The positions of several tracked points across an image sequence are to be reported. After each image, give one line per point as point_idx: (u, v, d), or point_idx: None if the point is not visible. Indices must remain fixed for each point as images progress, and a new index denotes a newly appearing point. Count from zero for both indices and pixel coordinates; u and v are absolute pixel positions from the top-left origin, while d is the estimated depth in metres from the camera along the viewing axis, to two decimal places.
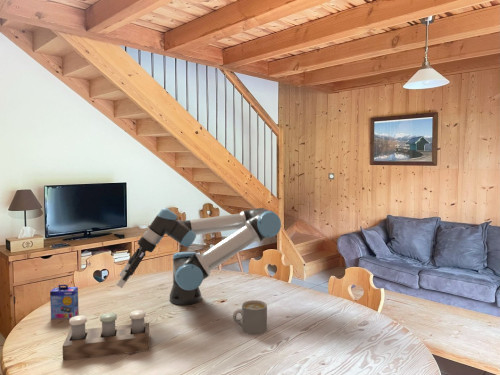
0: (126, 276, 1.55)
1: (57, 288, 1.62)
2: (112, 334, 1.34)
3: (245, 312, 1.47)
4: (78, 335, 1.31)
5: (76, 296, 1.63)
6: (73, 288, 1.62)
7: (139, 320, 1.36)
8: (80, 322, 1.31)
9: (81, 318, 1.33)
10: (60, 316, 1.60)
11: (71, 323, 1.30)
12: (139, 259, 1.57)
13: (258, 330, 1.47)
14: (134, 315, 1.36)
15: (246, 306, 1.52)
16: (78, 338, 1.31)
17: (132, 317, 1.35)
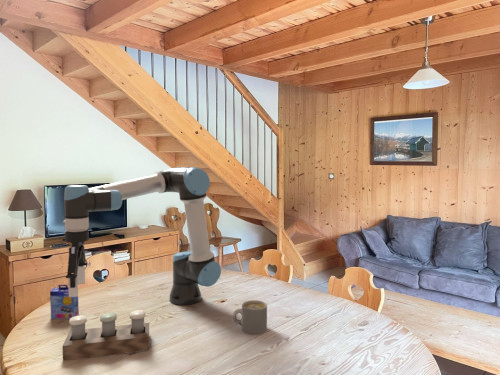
0: (72, 282, 1.24)
1: (57, 288, 1.62)
2: (112, 334, 1.34)
3: (245, 312, 1.47)
4: (78, 335, 1.31)
5: None
6: None
7: (139, 320, 1.36)
8: (80, 322, 1.31)
9: (81, 318, 1.33)
10: (60, 316, 1.60)
11: (71, 323, 1.30)
12: (73, 256, 1.25)
13: (258, 330, 1.47)
14: (134, 315, 1.36)
15: (246, 306, 1.52)
16: (78, 338, 1.31)
17: (132, 317, 1.35)
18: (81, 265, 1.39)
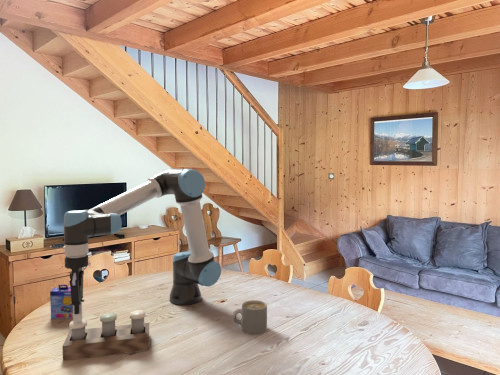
0: (76, 309, 1.31)
1: (57, 288, 1.62)
2: (112, 334, 1.34)
3: (245, 312, 1.47)
4: (78, 338, 1.31)
5: None
6: None
7: (139, 320, 1.36)
8: (80, 326, 1.31)
9: (81, 322, 1.33)
10: (60, 316, 1.60)
11: (71, 327, 1.30)
12: (75, 288, 1.27)
13: (258, 330, 1.47)
14: (134, 315, 1.36)
15: (246, 306, 1.52)
16: None
17: (132, 317, 1.35)
18: None
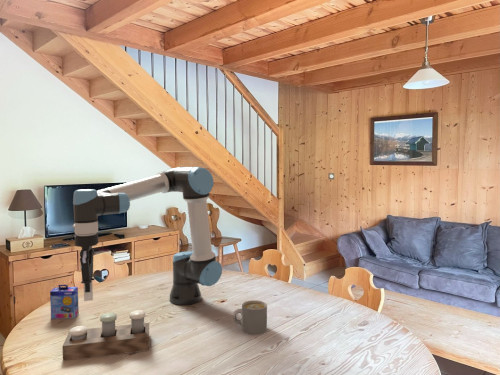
0: (87, 287, 1.31)
1: (57, 288, 1.62)
2: (112, 334, 1.34)
3: (245, 312, 1.47)
4: None
5: (76, 296, 1.63)
6: (73, 288, 1.62)
7: (139, 320, 1.36)
8: (80, 333, 1.31)
9: (81, 329, 1.33)
10: (60, 316, 1.60)
11: (71, 334, 1.31)
12: (85, 265, 1.27)
13: (258, 330, 1.47)
14: (134, 315, 1.36)
15: (246, 306, 1.52)
16: None
17: (132, 317, 1.35)
18: None
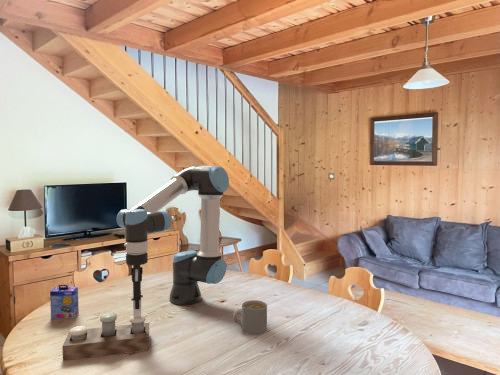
0: (136, 304, 1.36)
1: (57, 288, 1.62)
2: (112, 334, 1.34)
3: (245, 312, 1.47)
4: None
5: (76, 296, 1.63)
6: (73, 288, 1.62)
7: (139, 324, 1.36)
8: (80, 333, 1.31)
9: (81, 329, 1.33)
10: (60, 316, 1.60)
11: (71, 334, 1.31)
12: (137, 283, 1.32)
13: (258, 330, 1.47)
14: (134, 319, 1.36)
15: (246, 306, 1.52)
16: None
17: (132, 321, 1.35)
18: None
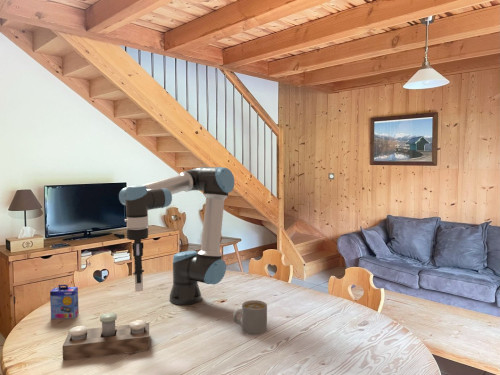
0: (138, 278, 1.38)
1: (57, 288, 1.62)
2: (112, 334, 1.34)
3: (245, 312, 1.47)
4: None
5: (76, 296, 1.63)
6: (73, 288, 1.62)
7: (139, 330, 1.36)
8: (80, 333, 1.31)
9: (81, 329, 1.33)
10: (60, 316, 1.60)
11: (71, 334, 1.31)
12: (138, 258, 1.35)
13: (258, 330, 1.47)
14: (134, 325, 1.36)
15: (246, 306, 1.52)
16: None
17: (132, 327, 1.36)
18: None
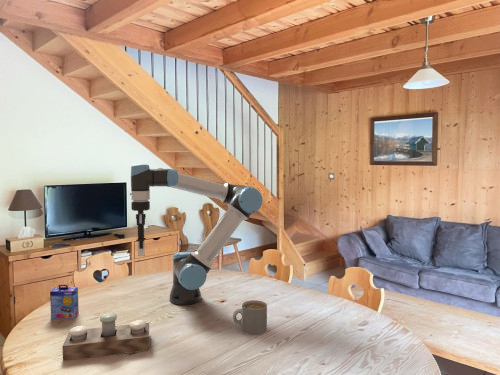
0: (140, 244, 1.60)
1: (57, 288, 1.62)
2: (112, 334, 1.34)
3: (245, 312, 1.47)
4: None
5: (76, 296, 1.63)
6: (73, 288, 1.62)
7: (139, 330, 1.36)
8: (80, 333, 1.31)
9: (81, 329, 1.33)
10: (60, 316, 1.60)
11: (71, 334, 1.31)
12: (141, 225, 1.56)
13: (258, 330, 1.47)
14: (134, 325, 1.36)
15: (246, 306, 1.52)
16: None
17: (132, 327, 1.36)
18: None
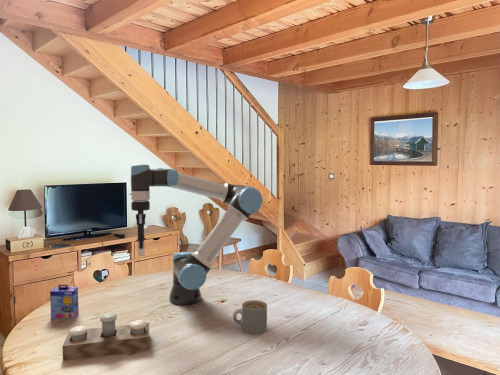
0: (140, 244, 1.60)
1: (57, 288, 1.62)
2: (112, 334, 1.34)
3: (245, 312, 1.47)
4: None
5: (76, 296, 1.63)
6: (73, 288, 1.62)
7: (139, 330, 1.36)
8: (80, 333, 1.31)
9: (81, 329, 1.33)
10: (60, 316, 1.60)
11: (71, 334, 1.31)
12: (141, 225, 1.56)
13: (258, 330, 1.47)
14: (134, 325, 1.36)
15: (246, 306, 1.52)
16: None
17: (132, 327, 1.36)
18: None
